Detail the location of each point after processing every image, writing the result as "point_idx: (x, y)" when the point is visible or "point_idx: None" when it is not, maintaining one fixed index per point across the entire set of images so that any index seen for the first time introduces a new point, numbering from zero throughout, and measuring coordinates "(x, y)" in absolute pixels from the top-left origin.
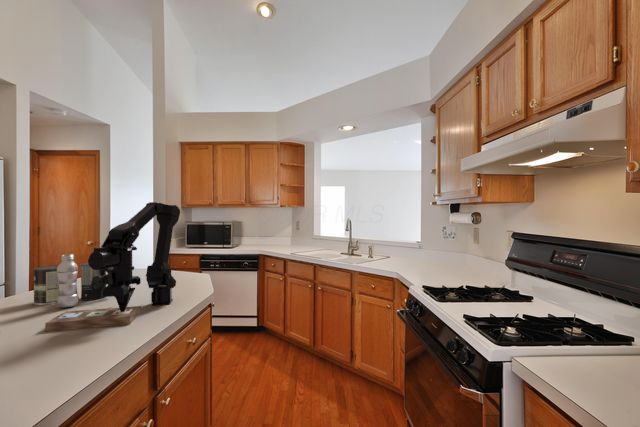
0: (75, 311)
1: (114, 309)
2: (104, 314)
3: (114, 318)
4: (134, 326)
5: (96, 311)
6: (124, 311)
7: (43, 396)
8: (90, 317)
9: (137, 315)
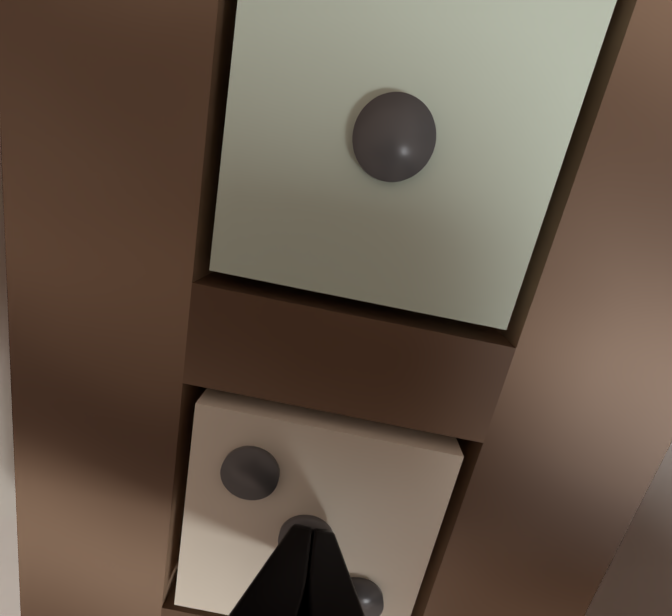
0: None
1: (555, 411)
2: (300, 285)
3: (24, 449)
4: (6, 564)
5: (621, 84)
6: None
7: None
8: (148, 57)
9: None
